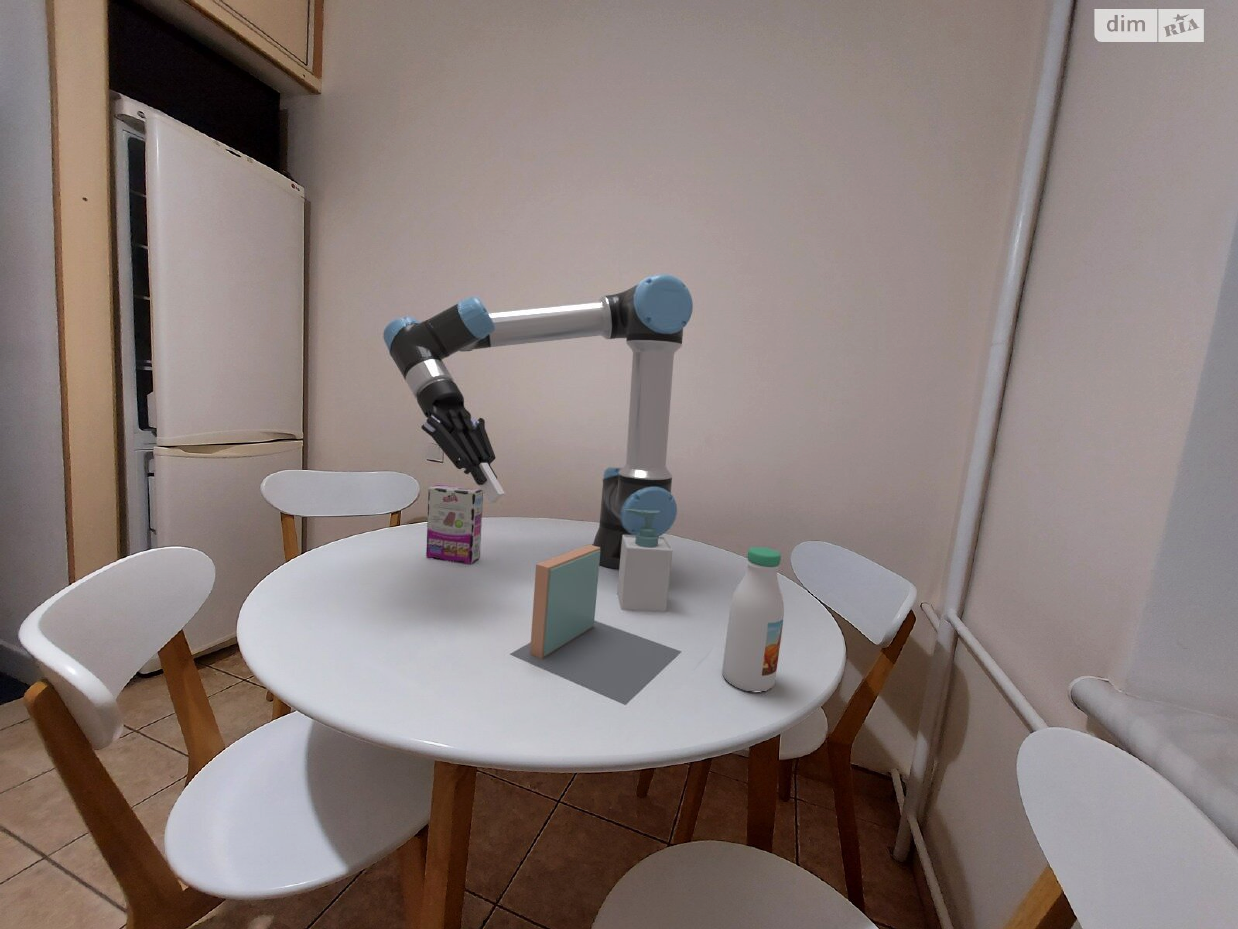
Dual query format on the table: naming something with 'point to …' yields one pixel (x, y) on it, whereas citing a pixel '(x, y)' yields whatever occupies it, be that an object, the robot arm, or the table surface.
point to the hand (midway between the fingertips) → (497, 498)
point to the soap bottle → (644, 568)
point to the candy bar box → (454, 523)
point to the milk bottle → (755, 624)
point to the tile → (564, 599)
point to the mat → (605, 661)
